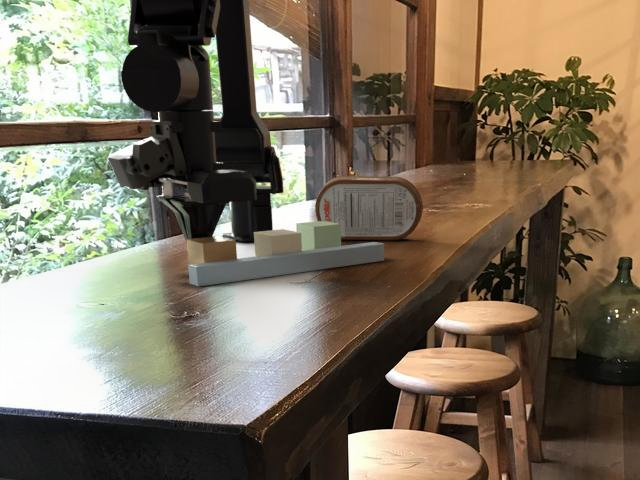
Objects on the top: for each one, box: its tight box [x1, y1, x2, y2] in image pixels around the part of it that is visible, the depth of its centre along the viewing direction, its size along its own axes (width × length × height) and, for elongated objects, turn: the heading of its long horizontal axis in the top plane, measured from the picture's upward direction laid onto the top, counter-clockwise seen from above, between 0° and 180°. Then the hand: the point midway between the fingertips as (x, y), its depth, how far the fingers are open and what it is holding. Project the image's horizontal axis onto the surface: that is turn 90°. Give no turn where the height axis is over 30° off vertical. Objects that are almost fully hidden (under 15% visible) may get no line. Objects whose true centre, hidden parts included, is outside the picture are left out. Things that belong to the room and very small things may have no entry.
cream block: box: [253, 228, 302, 257], centre depth 94 cm, size 4×4×4 cm
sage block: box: [295, 220, 342, 251], centre depth 101 cm, size 4×4×4 cm
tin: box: [314, 175, 424, 241], centre depth 112 cm, size 15×3×8 cm, turn 84°
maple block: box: [185, 235, 238, 265], centre depth 89 cm, size 4×4×4 cm
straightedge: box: [187, 241, 385, 288], centre depth 92 cm, size 2×25×2 cm, turn 127°
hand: (198, 261), depth 92 cm, fingers closed
